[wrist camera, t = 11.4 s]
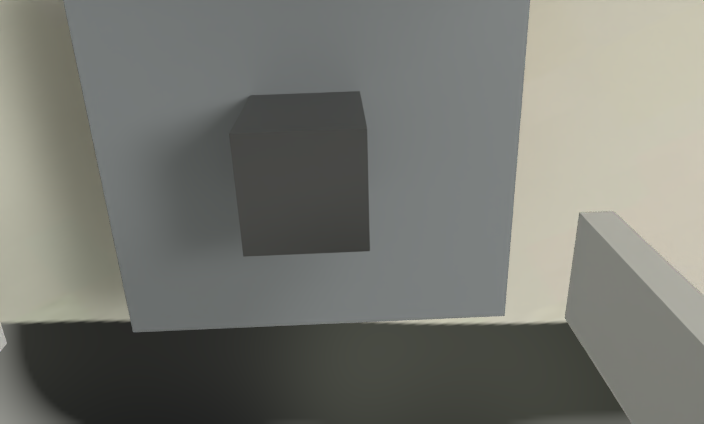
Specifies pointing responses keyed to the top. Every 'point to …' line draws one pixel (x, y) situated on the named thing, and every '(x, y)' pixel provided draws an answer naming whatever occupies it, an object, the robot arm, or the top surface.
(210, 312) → the cover sheet
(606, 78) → the top surface
